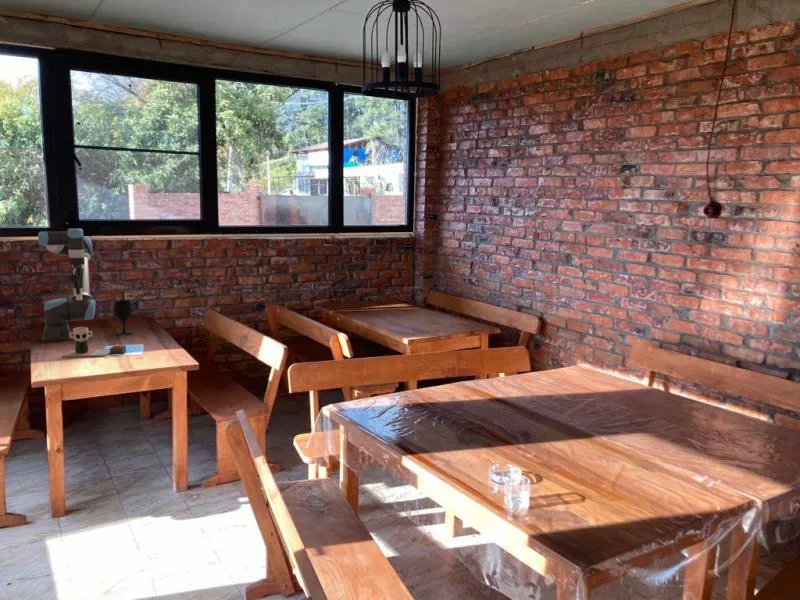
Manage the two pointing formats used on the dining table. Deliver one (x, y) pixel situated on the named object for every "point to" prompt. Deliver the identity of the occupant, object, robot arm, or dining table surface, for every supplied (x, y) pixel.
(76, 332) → the character mug
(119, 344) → the button cap
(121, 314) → the wine glass
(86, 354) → the picture board
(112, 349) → the button housing
